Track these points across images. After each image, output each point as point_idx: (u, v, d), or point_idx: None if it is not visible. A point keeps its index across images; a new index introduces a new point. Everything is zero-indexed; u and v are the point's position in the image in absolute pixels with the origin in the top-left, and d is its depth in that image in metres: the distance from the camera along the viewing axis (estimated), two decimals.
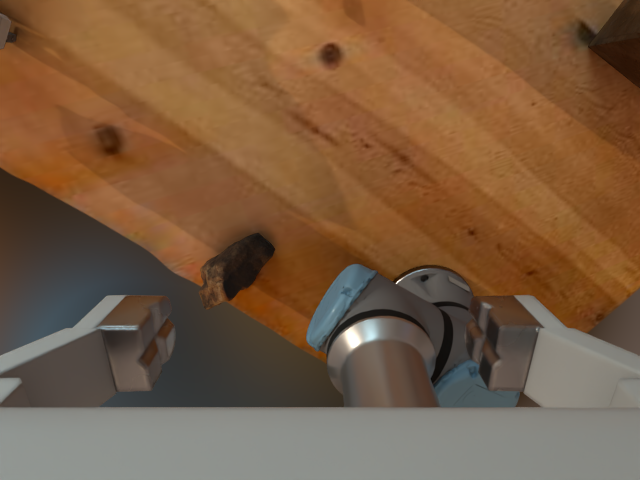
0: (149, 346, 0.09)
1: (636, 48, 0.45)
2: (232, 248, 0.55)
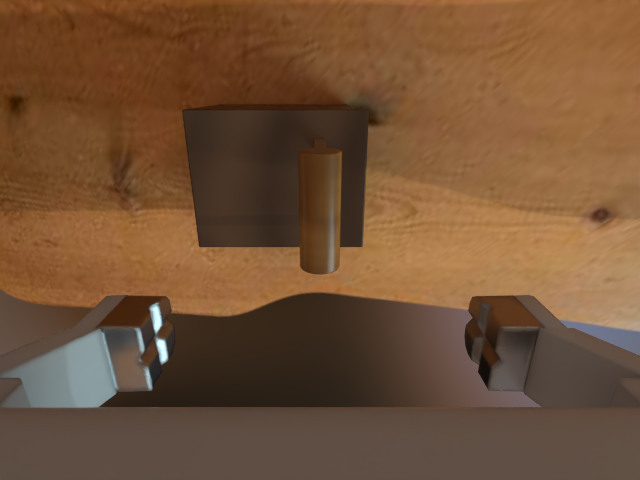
0: (149, 346, 0.09)
1: (328, 107, 0.27)
2: None
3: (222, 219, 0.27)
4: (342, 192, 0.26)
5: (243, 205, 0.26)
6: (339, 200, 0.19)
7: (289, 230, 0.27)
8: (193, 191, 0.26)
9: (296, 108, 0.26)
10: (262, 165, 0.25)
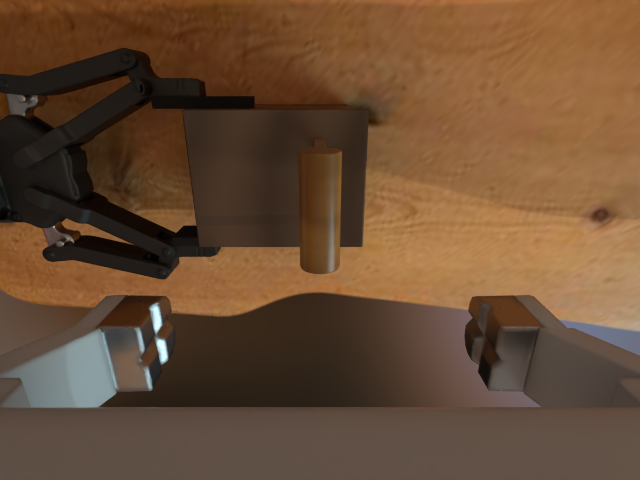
0: (149, 346, 0.09)
1: (328, 107, 0.27)
2: None
3: (222, 218, 0.27)
4: (342, 192, 0.26)
5: (243, 205, 0.26)
6: (339, 200, 0.19)
7: (289, 230, 0.27)
8: (193, 191, 0.26)
9: (296, 108, 0.25)
10: (262, 165, 0.25)
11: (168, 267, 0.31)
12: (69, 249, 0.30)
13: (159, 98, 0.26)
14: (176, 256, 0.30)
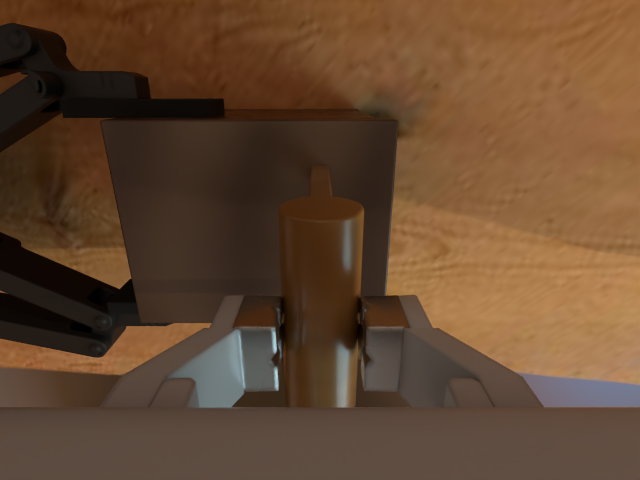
0: None
1: (333, 115, 0.18)
2: None
3: (172, 284, 0.18)
4: None
5: (203, 264, 0.17)
6: (358, 298, 0.10)
7: None
8: (126, 244, 0.17)
9: (284, 117, 0.17)
10: (231, 206, 0.16)
11: (105, 340, 0.22)
12: None
13: (73, 102, 0.17)
14: (116, 325, 0.21)
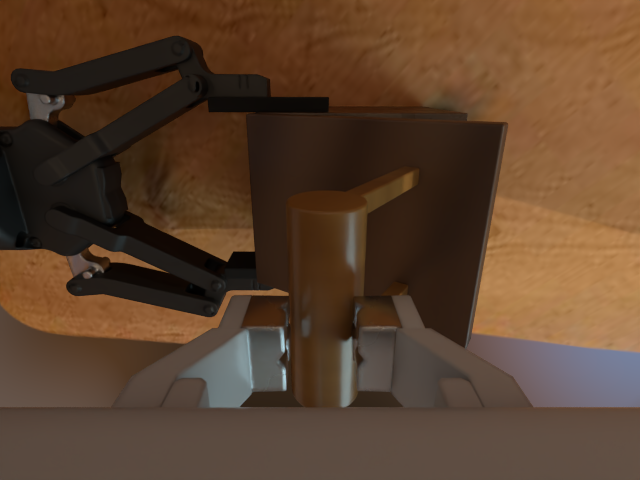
0: None
1: (424, 111, 0.22)
2: None
3: (280, 256, 0.20)
4: (440, 257, 0.16)
5: None
6: (349, 296, 0.10)
7: None
8: (253, 215, 0.21)
9: (389, 112, 0.20)
10: None
11: (216, 303, 0.25)
12: (98, 281, 0.25)
13: (218, 99, 0.20)
14: (226, 289, 0.25)
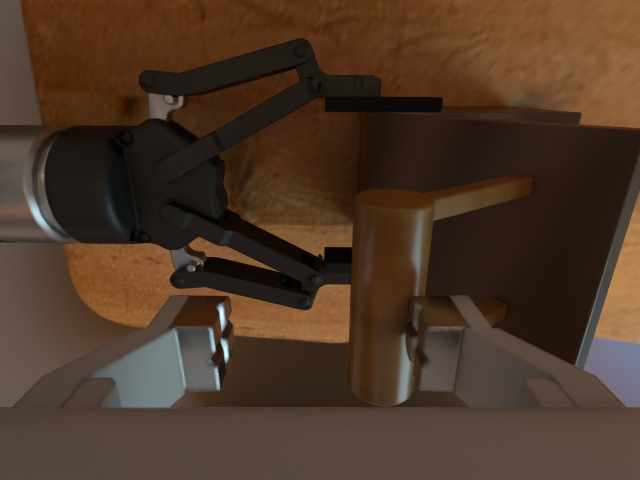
0: None
1: None
2: None
3: None
4: (547, 280, 0.14)
5: None
6: (402, 295, 0.10)
7: None
8: None
9: None
10: None
11: (311, 296, 0.26)
12: (201, 275, 0.25)
13: (335, 99, 0.21)
14: (322, 284, 0.26)
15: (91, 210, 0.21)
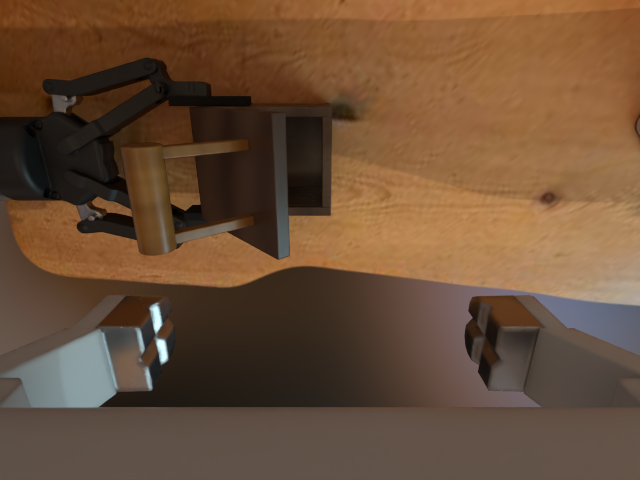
0: (149, 346, 0.09)
1: None
2: None
3: (208, 199, 0.32)
4: (262, 196, 0.25)
5: (216, 191, 0.30)
6: (146, 191, 0.21)
7: None
8: (197, 172, 0.32)
9: (284, 106, 0.32)
10: (221, 158, 0.28)
11: None
12: (99, 223, 0.36)
13: (174, 97, 0.32)
14: None
15: (11, 173, 0.32)
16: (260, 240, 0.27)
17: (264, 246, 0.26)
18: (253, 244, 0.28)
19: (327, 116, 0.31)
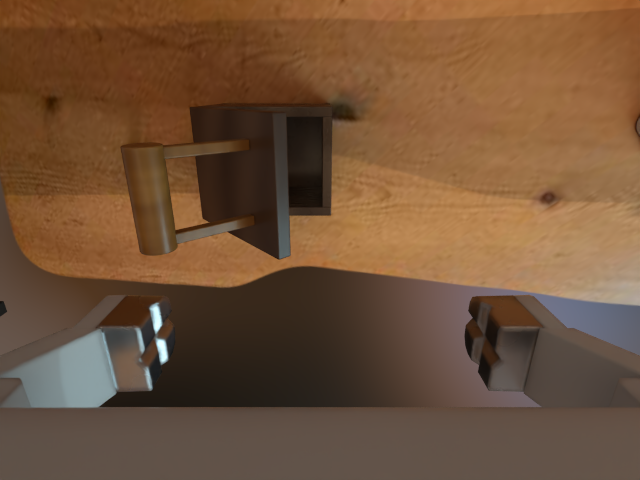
0: (149, 346, 0.09)
1: None
2: None
3: (209, 199, 0.32)
4: (262, 196, 0.25)
5: (216, 191, 0.30)
6: (147, 191, 0.21)
7: None
8: (197, 172, 0.32)
9: (284, 106, 0.32)
10: (222, 158, 0.28)
11: None
12: None
13: None
14: None
15: None
16: (261, 240, 0.27)
17: (265, 246, 0.26)
18: (254, 244, 0.28)
19: (327, 116, 0.32)
